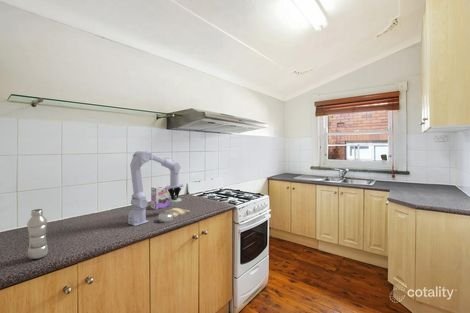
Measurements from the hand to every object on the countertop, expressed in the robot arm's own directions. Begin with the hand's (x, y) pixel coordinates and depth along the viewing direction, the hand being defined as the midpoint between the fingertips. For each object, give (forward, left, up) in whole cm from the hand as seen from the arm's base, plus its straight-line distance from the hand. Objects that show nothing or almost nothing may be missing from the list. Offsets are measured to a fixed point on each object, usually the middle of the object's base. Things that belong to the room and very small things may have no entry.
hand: (174, 198), depth 159 cm
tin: (-14, -8, -11) cm, 19 cm away
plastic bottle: (-76, -3, -11) cm, 77 cm away
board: (0, 0, -10) cm, 10 cm away
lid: (0, 0, -2) cm, 2 cm away
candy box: (+4, +20, -11) cm, 23 cm away
